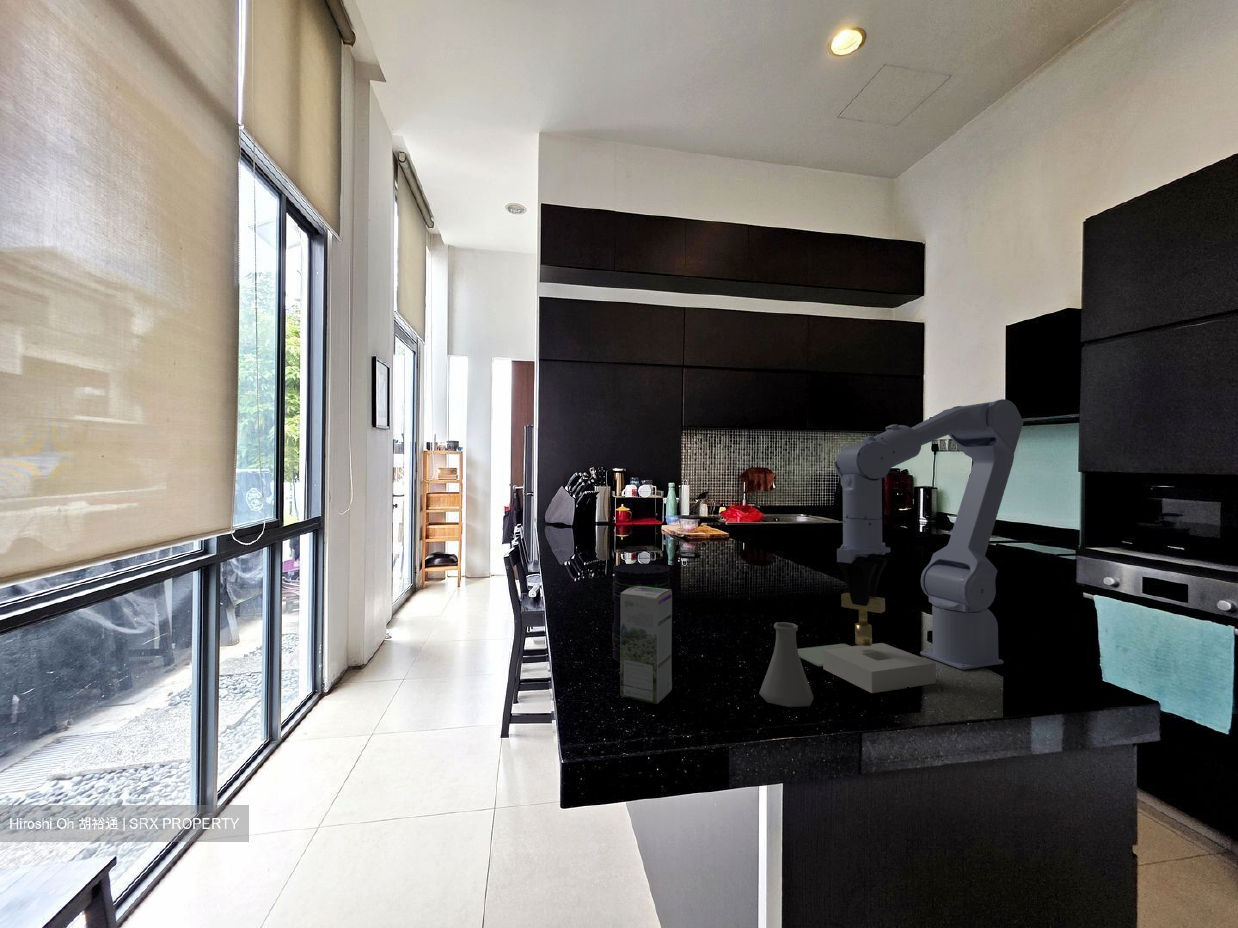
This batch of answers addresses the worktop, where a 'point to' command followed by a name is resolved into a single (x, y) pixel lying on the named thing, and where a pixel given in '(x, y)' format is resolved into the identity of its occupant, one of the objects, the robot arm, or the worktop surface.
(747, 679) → the worktop surface
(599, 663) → the worktop surface
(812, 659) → the mat
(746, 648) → the worktop surface
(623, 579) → the storage jar
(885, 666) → the block
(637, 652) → the syrup box
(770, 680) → the flask
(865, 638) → the t key
